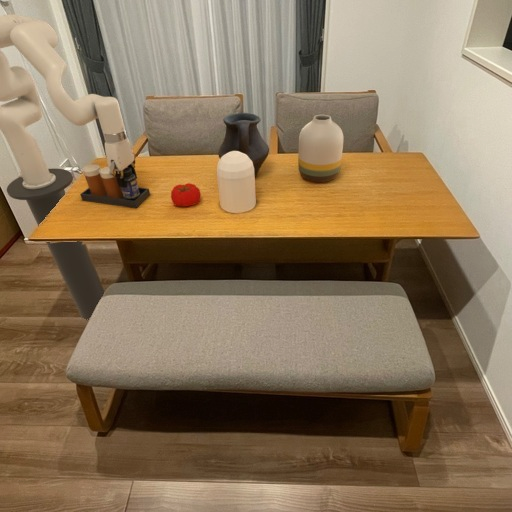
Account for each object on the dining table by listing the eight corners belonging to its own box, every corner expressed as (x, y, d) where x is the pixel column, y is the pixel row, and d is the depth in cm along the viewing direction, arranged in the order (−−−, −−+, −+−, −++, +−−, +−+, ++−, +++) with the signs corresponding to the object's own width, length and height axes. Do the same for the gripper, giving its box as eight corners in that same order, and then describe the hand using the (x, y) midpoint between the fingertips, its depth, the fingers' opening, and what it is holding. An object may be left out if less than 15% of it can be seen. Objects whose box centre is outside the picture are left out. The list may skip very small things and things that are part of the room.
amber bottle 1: (88, 196, 150) (78, 170, 144) (97, 189, 155) (89, 163, 148) (101, 198, 149) (92, 172, 142) (110, 190, 153) (102, 165, 147)
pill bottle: (137, 200, 145) (130, 173, 138) (122, 200, 145) (114, 174, 138) (142, 192, 150) (135, 166, 143) (126, 192, 150) (119, 166, 143)
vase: (317, 163, 167) (320, 106, 152) (348, 176, 156) (355, 116, 142) (289, 176, 158) (289, 117, 143) (320, 190, 148) (324, 129, 133)
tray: (82, 200, 150) (80, 194, 148) (98, 188, 157) (96, 181, 156) (136, 208, 144) (134, 201, 142) (150, 194, 151) (148, 188, 149)
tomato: (172, 198, 148) (168, 183, 144) (200, 194, 150) (198, 179, 146) (173, 211, 141) (169, 195, 137) (202, 207, 142) (200, 191, 138)
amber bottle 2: (104, 198, 149) (95, 172, 142) (113, 191, 153) (105, 165, 146) (118, 200, 147) (110, 174, 140) (127, 192, 152) (119, 167, 145)
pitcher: (266, 161, 171) (264, 103, 155) (273, 184, 154) (272, 122, 138) (219, 165, 169) (213, 107, 154) (222, 189, 152) (215, 126, 137)
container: (259, 210, 139) (257, 158, 126) (222, 215, 137) (216, 163, 125) (252, 192, 149) (249, 142, 137) (218, 197, 148) (212, 147, 135)
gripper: (120, 126, 140) (132, 171, 151) (90, 144, 127) (106, 192, 139) (138, 127, 138) (148, 173, 149) (110, 146, 125) (124, 195, 137)
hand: (128, 182), depth 144 cm, fingers closed on pill bottle, 6 cm apart
